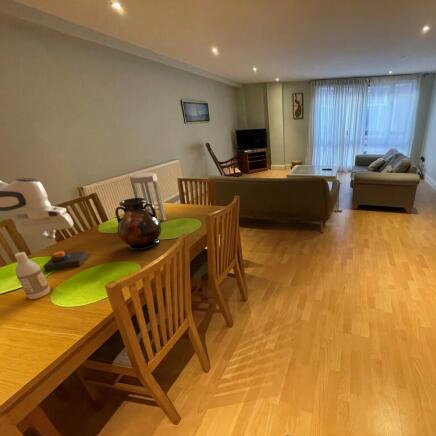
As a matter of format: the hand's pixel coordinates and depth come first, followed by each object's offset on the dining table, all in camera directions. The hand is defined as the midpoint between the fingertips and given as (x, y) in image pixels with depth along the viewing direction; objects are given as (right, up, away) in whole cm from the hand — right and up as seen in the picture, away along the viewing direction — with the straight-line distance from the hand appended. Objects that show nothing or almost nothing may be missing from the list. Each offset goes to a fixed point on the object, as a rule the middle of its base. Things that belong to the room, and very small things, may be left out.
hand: (51, 238), depth 118 cm
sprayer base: (+2, -14, +7) cm, 15 cm away
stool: (+18, +7, +58) cm, 61 cm away
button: (0, -10, +5) cm, 11 cm away
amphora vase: (+31, -6, +25) cm, 40 cm away
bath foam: (+11, -23, -16) cm, 30 cm away
